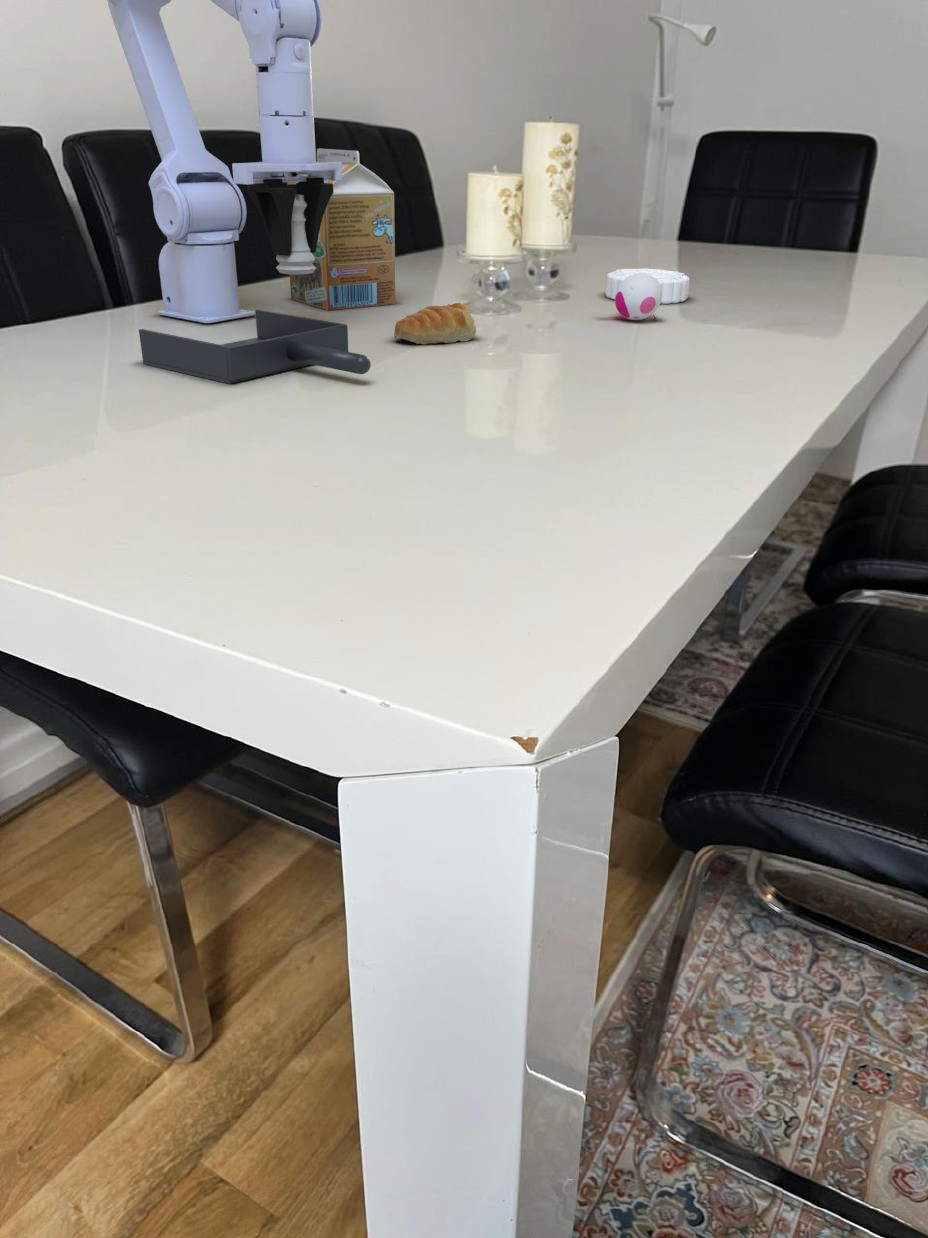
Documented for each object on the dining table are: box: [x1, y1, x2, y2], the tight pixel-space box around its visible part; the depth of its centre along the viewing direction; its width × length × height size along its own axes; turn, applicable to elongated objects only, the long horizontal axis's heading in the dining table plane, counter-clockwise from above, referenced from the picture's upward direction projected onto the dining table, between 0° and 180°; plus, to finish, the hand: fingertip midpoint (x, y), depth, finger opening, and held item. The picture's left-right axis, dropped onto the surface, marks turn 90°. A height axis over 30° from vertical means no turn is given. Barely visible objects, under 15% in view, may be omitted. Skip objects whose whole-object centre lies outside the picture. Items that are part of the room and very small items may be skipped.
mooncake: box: [605, 267, 691, 305], centre depth 141 cm, size 12×12×4 cm
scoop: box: [138, 309, 372, 385], centre depth 96 cm, size 23×16×3 cm
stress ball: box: [609, 273, 662, 322], centre depth 124 cm, size 8×8×7 cm
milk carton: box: [288, 148, 396, 312], centre depth 129 cm, size 11×11×19 cm
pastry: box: [393, 302, 477, 345], centre depth 110 cm, size 9×7×4 cm
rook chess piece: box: [275, 194, 316, 275], centre depth 107 cm, size 4×4×8 cm
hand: (294, 253), depth 108 cm, fingers closed on rook chess piece, 3 cm apart
